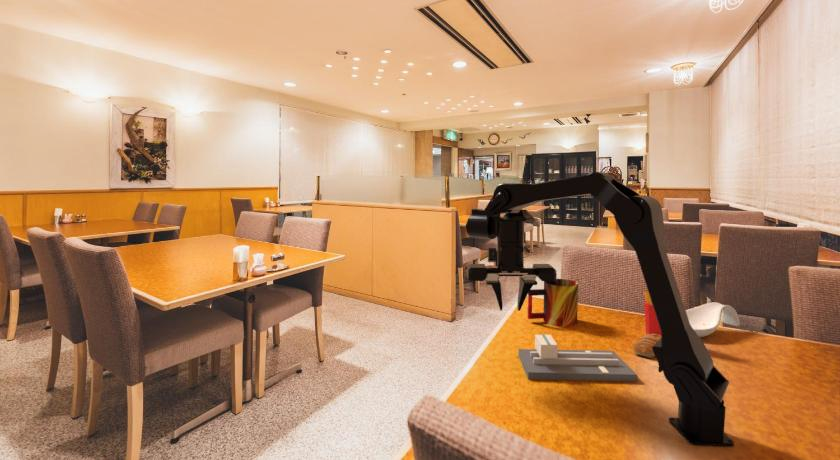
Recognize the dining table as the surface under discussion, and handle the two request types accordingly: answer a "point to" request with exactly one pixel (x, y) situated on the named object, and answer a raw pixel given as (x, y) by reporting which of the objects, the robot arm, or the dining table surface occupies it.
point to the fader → (546, 346)
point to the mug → (557, 303)
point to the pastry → (646, 345)
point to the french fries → (651, 317)
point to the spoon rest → (711, 317)
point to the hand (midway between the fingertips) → (509, 310)
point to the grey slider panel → (576, 366)
